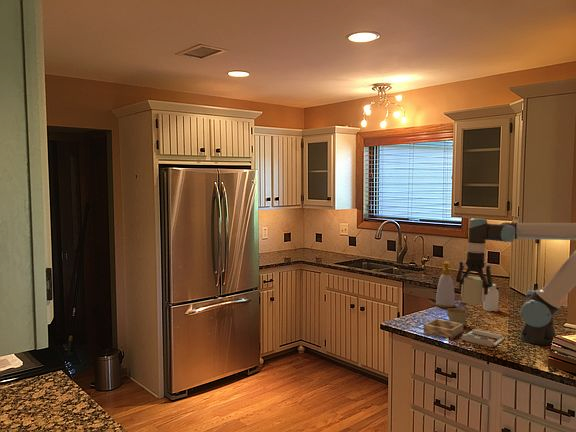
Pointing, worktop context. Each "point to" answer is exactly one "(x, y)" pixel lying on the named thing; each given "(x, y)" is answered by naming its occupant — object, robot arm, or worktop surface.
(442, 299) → the soap bottle
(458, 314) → the flower pot
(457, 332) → the open box
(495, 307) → the pill bottle
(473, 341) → the white square frame
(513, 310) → the worktop surface
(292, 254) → the worktop surface
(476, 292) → the can
